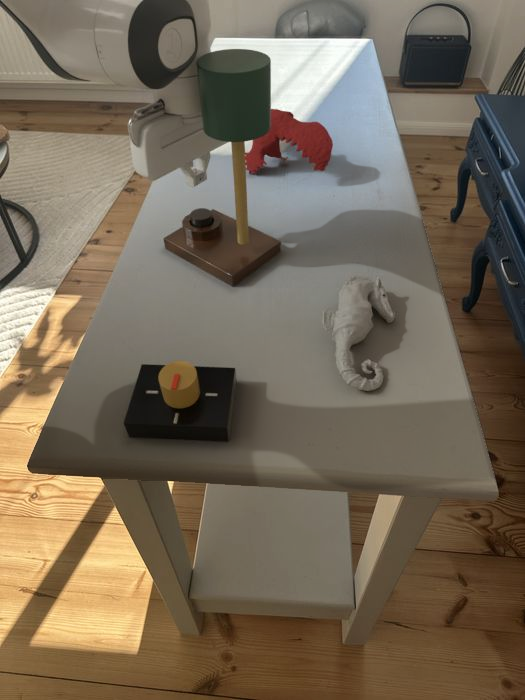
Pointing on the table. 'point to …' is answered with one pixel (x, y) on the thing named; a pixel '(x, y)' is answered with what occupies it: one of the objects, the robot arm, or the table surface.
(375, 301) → the seahorse
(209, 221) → the button
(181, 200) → the table surface
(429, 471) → the table surface
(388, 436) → the table surface
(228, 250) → the lamp base
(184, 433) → the dimmer
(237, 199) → the lamp
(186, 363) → the dimmer knob
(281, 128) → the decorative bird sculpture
